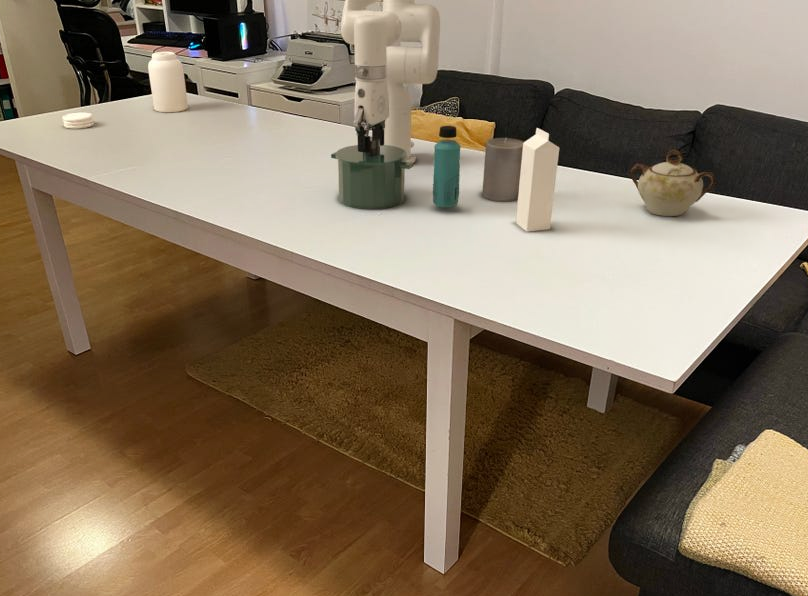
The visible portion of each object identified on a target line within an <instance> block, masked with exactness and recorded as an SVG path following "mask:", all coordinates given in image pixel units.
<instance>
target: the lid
mask: <svg viewBox="0 0 808 596" xmlns="http://www.w3.org/2000/svg"><path fill="white" fill-rule="evenodd" d="M335 152H336V158H337V159H336V160H337V161H338V160H340V161H342V162H345V163H349V164H354V165H364V166H378V165H388V164H393V163H397V162H400V161H403V160H404V159H405V158H406V157H407V152H406V151H405V150H403V149H401V148H398V147H395V146H390V145H383V146H380V138H378V137H372V136H370V152H369V153H364V152H359V151H358V144H354V145H349V146H345V147H342V148H340V149H338V150H337V151H335Z"/></svg>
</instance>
